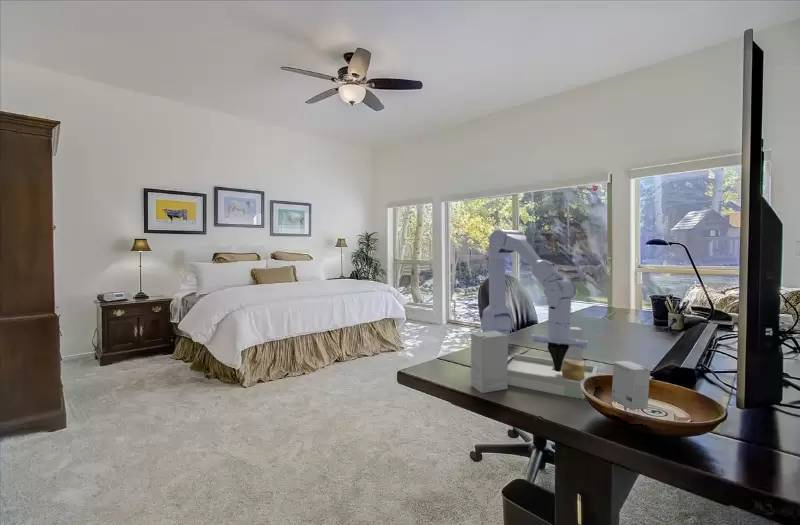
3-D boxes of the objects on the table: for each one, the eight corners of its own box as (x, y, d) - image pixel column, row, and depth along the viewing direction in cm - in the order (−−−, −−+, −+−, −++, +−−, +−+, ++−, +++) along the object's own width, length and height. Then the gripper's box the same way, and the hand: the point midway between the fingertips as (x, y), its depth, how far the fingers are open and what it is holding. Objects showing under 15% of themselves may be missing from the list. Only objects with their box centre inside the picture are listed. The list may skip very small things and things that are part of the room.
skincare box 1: (495, 382, 103) (496, 329, 103) (508, 390, 98) (509, 334, 97) (469, 386, 100) (470, 331, 100) (481, 394, 95) (482, 336, 94)
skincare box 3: (609, 413, 84) (611, 360, 84) (626, 412, 85) (628, 360, 85) (630, 426, 78) (632, 369, 78) (649, 424, 79) (651, 368, 78)
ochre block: (562, 377, 101) (562, 363, 100) (564, 372, 105) (565, 358, 105) (582, 381, 98) (582, 366, 98) (584, 375, 102) (584, 361, 102)
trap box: (498, 382, 103) (498, 368, 103) (514, 366, 118) (514, 353, 118) (592, 401, 91) (593, 385, 91) (597, 380, 106) (597, 366, 106)
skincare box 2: (577, 362, 123) (578, 326, 123) (582, 366, 119) (583, 329, 119) (558, 361, 124) (559, 326, 123) (563, 365, 120) (564, 329, 119)
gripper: (529, 321, 103) (527, 369, 104) (586, 327, 96) (585, 379, 96) (534, 318, 109) (533, 363, 110) (589, 323, 102) (587, 372, 102)
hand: (557, 370), depth 103 cm, fingers closed
